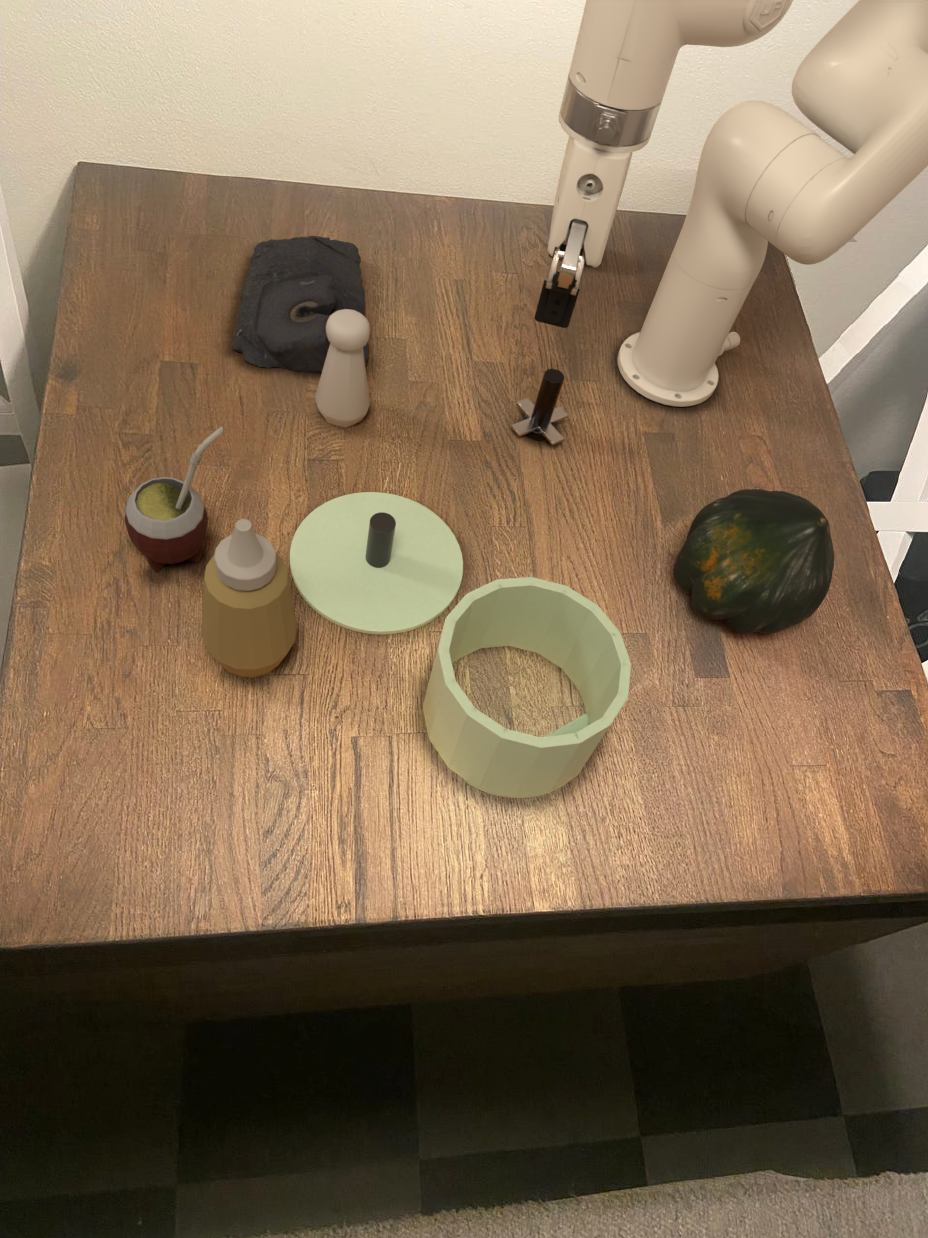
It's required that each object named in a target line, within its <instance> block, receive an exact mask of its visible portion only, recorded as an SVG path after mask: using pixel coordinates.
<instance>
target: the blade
mask: <svg viewBox="0 0 928 1238" xmlns="http://www.w3.org/2000/svg"><path fill="white" fill-rule="evenodd" d="M564 382H565V375H564V373H563V372H562V371H561V370H559V369H557V368H548V369H546V370H545V371H544V373H543V375H542V380H541V383H540V385H539V390H538V392H537V396H536V399H535V403H533V401H531V400H530V398H529V397H525V398H523V399H520V400H518V401H516V404H515V405H516V406H517V407H518V408H519V410H521V412H522V413H523V414H524V417H523V420H520V421H518V422H516V423H513V424H511V425H510V428H511V430H513V432H514V433H515V434H516V435H517V437H518V438H519V437H522V436H526V437H527V438H528V439H530V440H533V441H537V442H544V441H548V442H549V443H550V445H551V446H555V445H557V444H560V443H562V442H564V441H565V438H564V437H563V436H562V434H560V432H559V431H558V430H557V428H556V423H559V422H560V421H563V420H566V419H568V418H569V414H568V413H567V411H565V409H563V407H562V406H557V402H558V399H559V397H560V393H561V390H562V388H563V384H564Z"/></svg>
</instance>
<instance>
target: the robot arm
mask: <svg viewBox="0 0 928 1238" xmlns="http://www.w3.org/2000/svg"><path fill="white" fill-rule="evenodd" d="M793 2H794V0H585V4H584V8H583V13H582V18H581V21H580V26H579V29H578V34H577V38H576V41H575V46H574V50H573V55H572V58H571V62H570V67H569V71H568V75H567V78H566V84H565V88H564V92H563V96H562V100H561V105H560V108H559V112H558V122H559V124H560V127H561V128H562V130H563V131H564V133H566V134H567V135H568V138H567V143H566V147H565V151H564V156H563V158H562V159H563V160H562V164H561V169H560V172H559V178H558V183H557V187H556V193H555V198H554V204H553V209H552V216H551V222H550V227H549V236H548V243H547V249H546V251H547V252H548V257H549V258H550V259H552V260H551V263H550V267H549V272H548V275H547V279H544V280H543V283H542V287H541V291H540V295H539V299H538V302H537V306H536V309H535V314H534V320H535V321H536V322H538V323H542V324H545V325H550V326H555V327H557V328H558V327H559V328H561V329H567V328H569V326H570V323H571V319H572V317H573V314H574V309H575V306H576V303H577V300H578V298H579V293H580V288H579V285H580V282H581V278H582V276H583V275H582V274H583V270H584V268H585V267H584V266H585V264H586V266H590V267H592V268H594V269H595V268H598V267H599V266H600V265H601V264H602V261H603V258H604V254H605V251H606V247H607V244H608V240H609V236H610V233H611V230H612V227H613V224H614V220H615V217H616V213H617V210H618V207H619V204H620V200H621V197H622V193H623V190H624V187H625V183H626V180H627V176H628V172H629V168H630V164H631V160H632V156H633V153H634V152H635V153H636V152H637V151H640V150H642V149H643V148H644V147H645V146H647V145H648V143H649V141H650V140H651V136H652V133H653V130H654V127H655V124H656V121H657V118H658V114H659V112H660V109H661V106H662V102H663V100H664V96H665V93H666V91H667V87H668V84H669V81H670V78H671V75H672V73H673V69H674V67H675V63H676V59H677V57H678V54H679V51H680V50H681V48H683V47H684V46H687V45H688V46H704V47H716V48H733V47H740V46H744V45H748V44H750V43H753V42H755V41H757V40H759V39H760V38H762V37H764V36H766V35H767V34H768V33H770V32H771V31H772V30H773V29H774V28H775V27H776V26H777V25H778V24H779V23H781V21H782V20H783V18H784V17H785V16H786V14H787V13H788V11H789V9H790V8H791V7H792V4H793ZM791 96H792V99H793V102H794V104H795V106H796V107H797V109H798V110H799V111H800V112H801V114H802V115H803V116H804V117H806V119H807V120H809V121H810V122H811V123H812V124H813V125H814V126H816V127H817V128H818V129H820V130H821V131H822V132H824V133H825V134H826V135H827V136H829V137H830V138H832V139H833V140H834V141H836V142H837V143H838V144H840V145H841V146H843V147H844V148H845V149H847V150H848V151H849V152H850V153H852V154H853V155H852V156H851V157H848V156H846V155H845V154H844V153H842V152H841V151H839V150H838V148H837V149H836V147H834V146H833V145H831V144H830V143H829V142H827V141H826V140H825V139H823V138H822V137H821V136H820V135H819V134H818V133H816V132H815V131H814V130H812V129H811V128H810V127H808V126H807V125H805V124H804V123H803V122H801V121H800V120H798V119H797V118H796V117H794V116H793V115H792V114H791V113H789V112H787V111H786V110H784V109H783V108H781V107H779V106H778V105H775V104H773V103H770V102H768V101H767V102H766V101H764V100H747V101H743V102H740V103H737V104H735V105H734V106H731V107H730V108H729V109H727V110H726V111H725V112H724V113H723V114H722V115H720V116H719V118H718V119H717V120H716V122H714V124H713V126H712V127H711V129H710V130H709V133H708V135H707V136H706V138H705V141H704V144H703V147H702V149H701V153H700V157H699V159H698V160H699V161H698V165H697V170H696V177H695V182H694V187H693V192H692V196H691V200H690V203H689V207H688V210H687V213H686V216H685V218H684V220H683V221H684V222H683V224H682V227H681V230H680V233H679V235H678V237H677V240H676V242H675V245H674V247H673V250H672V251H671V253H670V257H669V259H668V262H667V264H666V266H665V269H664V271H663V274H662V277H661V278H660V279H661V280H660V282H659V284H658V287H657V290H656V292H655V294H654V297H653V299H652V302H651V305H650V306H649V310H648V311H647V314H646V317H645V320H644V322H643V324H642V327H641V329H640V331H639V332H636V333H633V334H631V335H630V336H628V337H627V338H626V339H625V340H624V341H623V342H622V343H621V345H620V348H619V351H618V353H617V358H616V361H617V367H618V370H619V373H620V375H621V377H622V379H624V381H625V382H626V383H627V384H628V385H629V386H630V387H631V388H632V389H633V390H634V391H636V392H637V393H638V394H640V395H641V396H643V397H645V398H646V399H648V400H651V401H652V402H655V403H657V404H661V405H664V406H671V407H679V408H681V407H692V406H696V405H700V404H702V403H704V402H705V401H707V400H708V399H709V398H710V397H712V395H713V394H714V392H715V390H716V388H717V386H718V383H719V377H720V376H719V371H718V366H717V365H716V362H717V359H718V357H720V356H722V355H723V353H724V352H727V351H729V350H732V349H734V348H737V347H738V346H739V345H740V344H741V337H740V335H739V333H737V332H736V331H731V329H732V327H733V325H734V323H735V322H736V320H737V317H738V315H739V314H740V312H741V309H742V308H743V305H744V303H745V302H746V299H747V298H748V296H749V293H750V292H751V289H752V287H753V285H754V283H755V282H756V280H757V278H758V276H759V274H760V272H761V270H762V267H763V265H764V262H765V259H766V255H767V251H768V245H769V243H770V244H771V245H772V246H774V247H775V248H776V249H777V250H779V251H780V252H781V253H782V254H784V255H785V256H786V257H788V258H789V259H791V260H792V261H793V262H796V263H798V264H801V265H809V266H810V265H815V264H819V263H822V262H823V261H826V260H827V259H829V258H830V257H832V256H833V255H834V254H836V253H837V252H839V251H840V250H841V249H842V248H843V247H844V246H846V244H847V243H849V242H850V241H851V240H852V239H853V238H854V237H855V236H856V235H857V234H858V233H860V232H861V231H862V229H864V228H865V227H866V226H867V225H868V224H869V223H870V222H871V221H872V220H873V219H874V218H875V217H876V216H877V215H879V213H881V211H883V209H884V208H886V207H887V206H888V205H889V204H890V203H892V201H893V200H894V199H895V198H896V197H897V196H898V195H899V194H900V193H901V192H902V191H903V190H904V189H906V188H907V186H908V185H910V184H911V183H912V182H913V181H914V180H915V179H916V178H917V177H918V176H919V175H920V174H921V173H922V172H923V171H924V170H925V169H926V168H927V167H928V0H858V1H857V2H856V3H855V4H854V5H853V6H851V8H850V9H849V10H848V11H847V12H846V13H845V14H844V15H843V16H842V17H841V18H840V19H839V20H838V21H837V22H836V23H835V24H834V25H833V26H832V27H831V28H830V29H829V30H828V31H827V33H826V34H824V36H823V37H822V38H820V40H819V41H818V42H817V43H816V44H815V46H814V47H813V48H812V49H811V50H810V51H809V52H808V53H807V54H806V56H805V57H804V58H803V60H802V61H801V62H800V64H799V65H798V67H797V70H796V71H795V73H794V75H793V78H792V81H791ZM559 261H561V265H560V269H559V271H558V270H557V268H558V264H559ZM730 331H731V332H730Z"/></svg>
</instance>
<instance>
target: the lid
mask: <svg viewBox="0 0 928 1238" xmlns="http://www.w3.org/2000/svg"><path fill="white" fill-rule="evenodd" d="M461 549H462V548H461V546H460V543H459V542H458V540H457V537H456V535H455V534H454V533H453V531H452V530H451V528H450V527H449V525H448V524H447V523H446V522H445V521H444V520H443V519H442V518H441V517H440V516H439V515H437V514H436V513H435V512H433V511H432V510H431V509H429V508H428V507H426V506H425V505H423V504H421V503H419V502H417V501H416V500H413V499H410V498H408V497H404V496H401V495H398V494H393V493H388V492H380V491H362V492H354V493H348V494H343V495H340V496H338V497H334V498H332V499H330V500H327V501H325V502H324V503H322V504H321V505H319V506H317V507H316V508H315V509H313V510H312V511H311V512H310V513H308V515H306V517H305V518H304V519H302V521H301V522H300V524H299V526H298V527H297V529H296V530H295V533H294V535H293V537H292V540H291V544H290V549H289V569H290V574H291V579H292V580H293V583H294V586H295V588H296V589H297V591H298V592H299V595H300V596H301V597H302V598H303V600H304V601H305V603H306V604H307V605H309V606H310V608H312V610H313V611H315V612H316V613H317V614H319V615H320V616H321V617H323V618H324V619H325V620H327V621H329V622H331V623H333V624H335V625H336V626H339V627H341V628H343V629H346V630H349V631H353V632H356V633H362V634H365V635H366V634H368V635H378V636H379V635H397V634H403V633H407V632H410V631H413V630H416V629H418V628H421V627H424V626H426V625H428V624H429V623H431V622H433V621H434V620H436V619H437V618H438V617H440V616H441V615H442V614H444V612H445V611H446V610H448V608H449V607H450V605H451V604H452V603H453V601H454V600H455V598H456V596H457V594H458V593H459V591H460V587H461V584H462V580H463V575H464V559H463V553H462V550H461Z"/></svg>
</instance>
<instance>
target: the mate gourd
mask: <svg viewBox="0 0 928 1238" xmlns="http://www.w3.org/2000/svg"><path fill="white" fill-rule="evenodd" d="M224 431H225V430H224V428H223V426H222V425H221V426H219V428H217V429H215V430H214V431H213V433H211V434H210V435H209V436H207V438H205V439H204V440H203V441H202V442H201V443H200V444H199V446H198V447H196V449H195V451H193V452H192V454H191V456H190V458H189V466H188V469H187V472H186V475H185V478H184V481H182V480H180V479H178V478H175V477H165V476H161V477H156V478H150V479H148V480H146V481H145V482H143V483H141V484H140V485H138V486H137V487H136V489H135V490H134V491H133V492H132V493H131V494H130V496H129V497H128V499H127V503H126V506H125V512H124V513H125V514H124V524H125V528H126V531H127V534H128V537H129V539H130V542H131V543H132V545H133V546H135V547H136V548H137V550H138V551H139V552H140V554H142V555H143V556H144V557H145V558H146V559H147V560H146V561H147V563H148V564H149V566H150V567H151V568H152V570H153V572H154V573H156V574H157V573H159V572H160V571H161V570H162V569H163V567H164V566H166V564H167V565H168V564H170V565H173V564H178V563H182V562H185V561H186V560H187V561H188V562H192V563H195V564H200V562H201V558H202V556H203V553H204V550H205V549H204V547H205V541H206V537H207V530H208V525H209V524H208V523H209V517H208V511H207V509H206V506H205V504H204V501H203V499H202V496H201V494H200V493H199V492H198V491H196V489H194V488H193V486H192V485H191V484H192V481H193V478H194V476H195V473H196V469H197V466H199V465H200V462H201V460H202V457H203V456H202V455H203V453H204V452H205V451H206V450H207V448H208V447H209V446H210V445H211V444H212V443H213V442H214V441H215V440H216V439H218V438H219V436H220V435H222V433H224Z"/></svg>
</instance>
